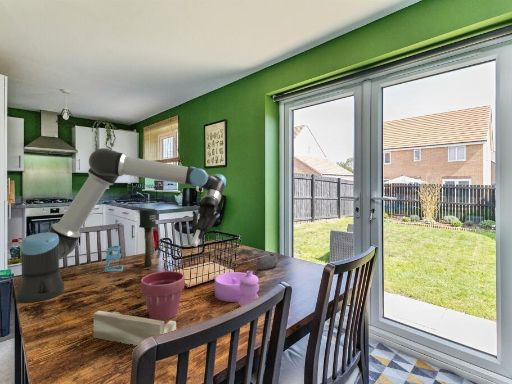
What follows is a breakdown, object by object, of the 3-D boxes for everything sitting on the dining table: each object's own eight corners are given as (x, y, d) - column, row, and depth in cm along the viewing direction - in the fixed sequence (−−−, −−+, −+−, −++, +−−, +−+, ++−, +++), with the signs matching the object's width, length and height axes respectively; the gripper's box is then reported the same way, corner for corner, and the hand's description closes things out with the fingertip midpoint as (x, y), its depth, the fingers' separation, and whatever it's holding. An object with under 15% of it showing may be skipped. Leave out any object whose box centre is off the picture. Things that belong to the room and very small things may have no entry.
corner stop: (114, 323, 89) (114, 302, 89) (176, 334, 83) (176, 311, 83) (93, 337, 81) (93, 313, 81) (160, 350, 76) (160, 324, 75)
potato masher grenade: (150, 269, 143) (150, 210, 142) (135, 267, 145) (135, 210, 144) (159, 264, 151) (159, 209, 150) (145, 263, 153) (145, 208, 152)
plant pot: (135, 311, 97) (135, 275, 97) (175, 301, 106) (175, 268, 105) (148, 329, 86) (148, 288, 85) (191, 316, 94) (191, 279, 94)
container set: (209, 290, 117) (209, 259, 116) (242, 284, 124) (242, 255, 124) (233, 316, 95) (234, 278, 94) (272, 307, 102) (272, 271, 102)
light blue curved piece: (105, 268, 143) (104, 245, 143) (123, 266, 147) (122, 243, 146) (103, 273, 136) (103, 248, 136) (122, 271, 140) (122, 247, 139)
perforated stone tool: (260, 272, 141) (260, 258, 140) (253, 269, 145) (253, 256, 144) (280, 266, 151) (281, 253, 150) (273, 264, 155) (274, 251, 154)
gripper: (226, 207, 132) (211, 250, 117) (200, 206, 136) (183, 248, 120) (221, 196, 127) (206, 240, 111) (195, 195, 130) (176, 238, 115)
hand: (194, 244), depth 116 cm, fingers closed
